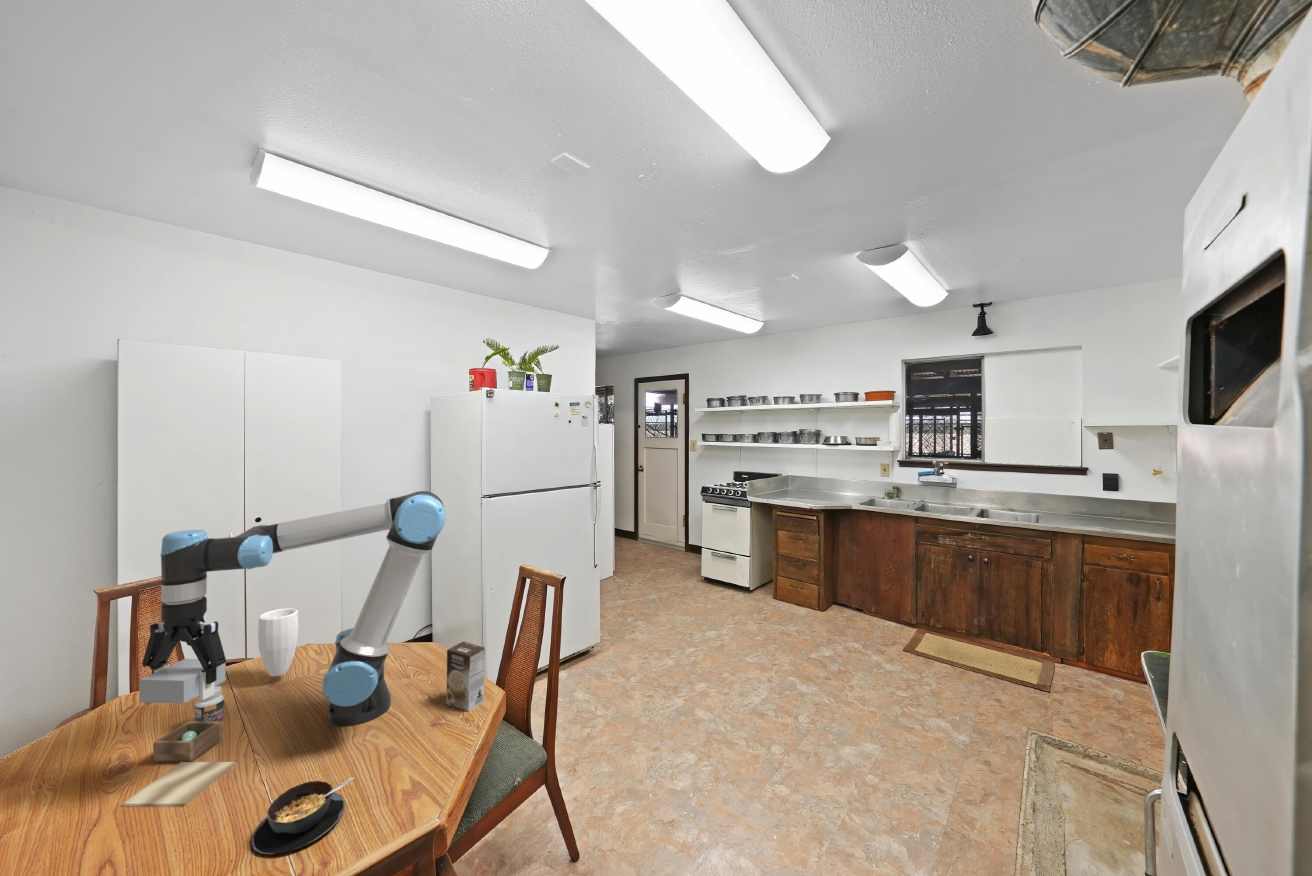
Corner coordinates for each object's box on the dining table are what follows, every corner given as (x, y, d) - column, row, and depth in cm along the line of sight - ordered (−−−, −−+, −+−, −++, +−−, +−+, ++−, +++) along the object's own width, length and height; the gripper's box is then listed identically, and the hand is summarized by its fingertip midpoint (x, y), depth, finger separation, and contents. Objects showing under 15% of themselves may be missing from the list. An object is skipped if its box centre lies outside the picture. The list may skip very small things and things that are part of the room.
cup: (282, 690, 148) (282, 619, 148) (248, 690, 149) (248, 619, 148) (307, 674, 159) (307, 607, 159) (275, 673, 159) (275, 607, 159)
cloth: (237, 764, 115) (237, 761, 115) (184, 806, 102) (184, 803, 102) (181, 764, 115) (181, 761, 115) (122, 806, 102) (122, 803, 102)
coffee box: (445, 704, 141) (445, 649, 141) (462, 694, 147) (462, 640, 147) (468, 712, 137) (469, 655, 137) (485, 701, 143) (485, 646, 143)
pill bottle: (206, 735, 126) (206, 697, 126) (188, 732, 127) (188, 694, 127) (229, 722, 132) (229, 686, 132) (212, 720, 133) (212, 683, 133)
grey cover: (225, 680, 117) (225, 659, 117) (183, 703, 107) (183, 680, 107) (184, 679, 117) (184, 658, 117) (139, 702, 107) (139, 679, 107)
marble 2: (191, 753, 119) (201, 740, 121) (185, 747, 117) (195, 734, 120) (179, 753, 119) (189, 740, 121) (172, 747, 117) (183, 734, 120)
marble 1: (200, 740, 123) (200, 727, 123) (188, 747, 120) (189, 734, 120) (188, 740, 123) (188, 728, 123) (176, 747, 120) (176, 735, 120)
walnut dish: (222, 741, 124) (222, 721, 124) (190, 763, 115) (190, 742, 115) (187, 741, 124) (187, 721, 124) (153, 763, 115) (153, 742, 115)
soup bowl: (293, 797, 105) (293, 763, 105) (366, 800, 105) (366, 765, 105) (230, 857, 90) (230, 817, 90) (315, 860, 90) (315, 820, 90)
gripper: (246, 594, 115) (246, 689, 115) (154, 593, 116) (154, 686, 116) (217, 605, 108) (217, 706, 108) (118, 604, 108) (118, 704, 109)
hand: (184, 696), depth 112 cm, fingers closed on grey cover, 10 cm apart
